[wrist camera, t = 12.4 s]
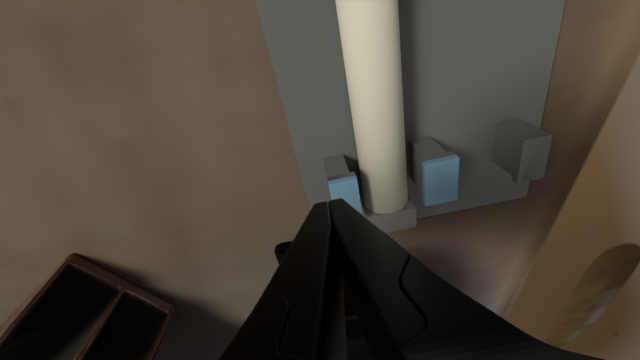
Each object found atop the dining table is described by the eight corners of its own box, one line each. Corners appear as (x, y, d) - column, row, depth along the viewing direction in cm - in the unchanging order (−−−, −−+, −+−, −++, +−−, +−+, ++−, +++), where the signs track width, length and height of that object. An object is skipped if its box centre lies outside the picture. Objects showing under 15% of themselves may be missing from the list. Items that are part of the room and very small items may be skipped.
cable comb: (316, 232, 24) (320, 273, 21) (197, -230, 12) (151, -346, 8) (519, 191, 24) (562, 225, 20) (615, -336, 11) (776, -512, 8)
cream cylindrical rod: (402, 202, 22) (416, 226, 20) (361, 210, 23) (370, 236, 20) (376, -216, 12) (399, -279, 9) (300, -197, 12) (302, -255, 9)
